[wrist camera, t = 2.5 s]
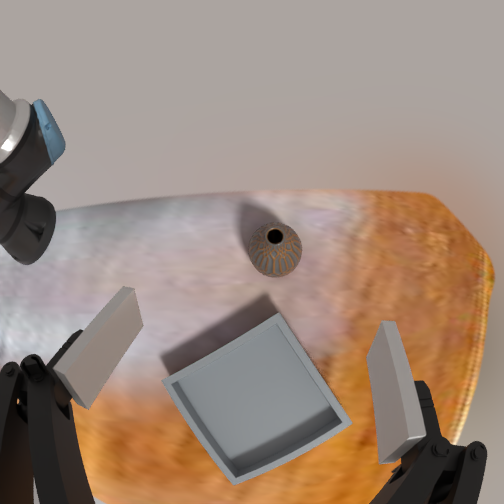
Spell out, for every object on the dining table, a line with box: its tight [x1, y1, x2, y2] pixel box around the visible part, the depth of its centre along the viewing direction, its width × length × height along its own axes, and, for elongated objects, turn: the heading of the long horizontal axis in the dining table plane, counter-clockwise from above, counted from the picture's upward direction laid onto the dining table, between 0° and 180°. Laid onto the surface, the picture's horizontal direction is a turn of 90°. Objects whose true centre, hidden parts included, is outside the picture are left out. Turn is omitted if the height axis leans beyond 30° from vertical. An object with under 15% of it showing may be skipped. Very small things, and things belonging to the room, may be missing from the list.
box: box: [161, 312, 352, 485], centre depth 32 cm, size 18×18×4 cm
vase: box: [249, 223, 302, 277], centre depth 35 cm, size 7×7×9 cm
